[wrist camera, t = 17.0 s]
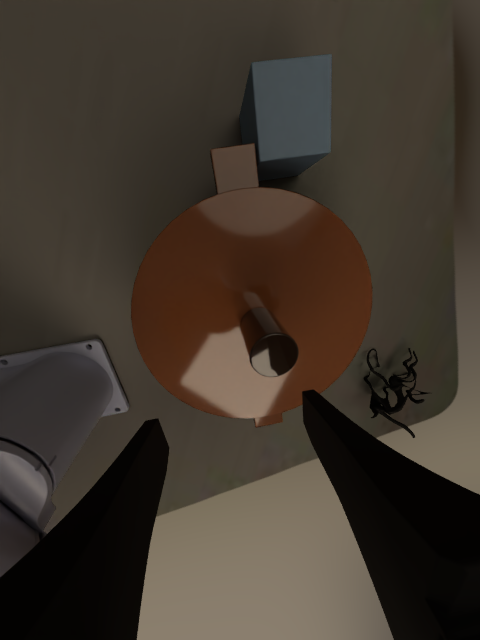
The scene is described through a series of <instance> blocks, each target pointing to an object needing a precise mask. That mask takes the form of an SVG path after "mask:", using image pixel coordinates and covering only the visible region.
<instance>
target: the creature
mask: <svg viewBox="0 0 480 640" xmlns="http://www.w3.org/2000/svg"><path fill="white" fill-rule="evenodd" d="M371 350H375V349H371ZM371 350H370V351H369V352H368V355H367V364H368V366H369V368H370V370H371V371H372V372H373V373H374V374H375V375H377V376H379V377H380V378H381V379H383V381H384V382H385V384H386V385H387V387H385V388H383V391H384V392H385V393H386V398H384V399H383V398H381V397H379V396H378V395H377V393H376V392H374V390H373V388H372V385H371V383H370V382H369V381H368V380H367V378H368V377H369V375H370V372H369V375H367V376H366V377H364V380H365V382H366V383H367V384H368V385H369V386H370V388H371V390H372V391H371V392H372V396H371V401H370V409H371V410H372V412H373V413H374V416H373V417H371V418H375V417H376V416H377V415H378V414H379V413H380V414H381V415H383V416H384V417H386V418H387V419H389V420H390V421H392V422H393V423H395V424H397V425H399V426H401V427H402V428H404V429H405V430H407V431H408V432H409V433H410V434H411V435H412V436H413V438H415V435H414V434H413V432H412V431H411V430H410V429H409V428H408V427H407V426H406V425H404V424H402V423H400V422H398V421H396V420H394V419H393V418H391V417H390V416H388V415H387V414H389V415H390V414H393V413H395V412H399V411H400V410H402V408H403V406H404V404H405V402H406V400H407V397H409V398H410V400H411V401H413V402H414V403H416V404H419V403H422V402H423V401H424V399H421V400H415V399H414V398H413V397H412V395H420V394H428V393H425V392H420V391H418V392H420V394H411V392H412V391H413V389H414V388H415V385H416V376H417V374H416V372H415V370H414V369H413V368H412V367H414V366H415V365H416V363H417V362H418V360H417V357H416V354H415V352H414V351H413V354H414V356H415V358H416V361H415V362H414V363H412V364H411V365H410V366H409V367H408V365H407V363H408V362H409V361H411V359H412V355H411V351H410V348H409V352H410V355H411V357H410V358H409V359H407V360H405V361H404V362H403V365H404V366H405V367H406V369H407V371H408V372H407V373H405V374H402V375H406V374H408V375H407V377H405V378H401V377H397V376H401V375H394V374H393V375H394V376H391V377H390V378H389V384H390V385H389V384H388V382H387V380H386V379H385V378H384V377H383V376H382V375H381V374H379V373H377V372H376V371H374V369H373V368H372V366H371V364H370V362H369V353H370V352H371ZM375 351H376V350H375ZM376 359H377V363H378V358H377V351H376ZM377 367H380V365H379V363H378V366H377ZM375 368H376V367H375ZM411 371H412V372H411ZM411 373H412V374H413V376H414V379H413V380H412V381H414V380H415V383H414V387H412V388H411V389H410V390H406V392H407V395H406V396H405V397H404V396H403V393H402V387H403V386H405V385H403V384H402V382H412V381H405V380H402V379H406V378H408V377H410V375H411ZM405 387H407V386H405ZM386 388H390V389H391V390H393V391H394V392H395V394H396V395H397V402H398V403H397V404H396V405H395V407H392V408H391V406H390V404H389V400H388V392H387V391H386ZM408 388H409V387H408ZM416 391H417V390H416ZM380 404H381V405H383V406H381V405H380ZM385 412H386V413H387V414H386V413H385Z"/></svg>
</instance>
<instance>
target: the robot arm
mask: <svg viewBox="0 0 480 640" xmlns="http://www.w3.org/2000/svg"><path fill="white" fill-rule="evenodd" d="M88 344H90V345H91V346H92V347H89V346H88ZM5 360H6V361H7V362H6V361H5ZM302 403H303V422H304V425H305V428H306V430H307V433H308V436H309V438H310V441H311V443H312V445H313V447H314V449H315V451H316V453H317V455H318V457H319V459H320V461H321V463H322V465H323V467H324V469H325V471H326V473H327V475H328V477H329V479H330V481H331V483H332V485H333V487H334V489H335V491H336V493H337V495H338V497H339V500H340V502H341V504H342V506H343V509H344V511H345V514H346V516H347V519H348V521H349V523H350V526H351V528H352V531H353V533H354V536H355V538H356V541H357V543H358V545H359V548H360V551H361V553H362V556H363V558H364V561H365V563H366V566H367V569H368V571H369V574H370V577H371V579H372V582H373V584H374V587H375V590H376V592H377V595H378V598H379V600H380V603H381V606H382V608H383V611H384V614H385V616H386V619H387V622H388V624H389V627H390V630H391V633H392V635H393V638H394V640H480V495H479V494H477V493H474V492H472V491H470V490H468V489H466V488H464V487H462V486H460V485H458V484H456V483H453V482H451V481H450V480H448V479H445V478H444V477H442V476H440V475H438V474H436V473H434V472H432V471H430V470H428V469H426V468H425V467H423V466H421V465H419V464H417V463H416V462H414V461H412V460H410V459H408V458H406V457H405V456H403V455H402V454H400V453H398V452H397V451H395V450H393V449H392V448H390V447H389V446H387V445H385V444H384V443H382V442H381V441H379V440H378V439H376V438H375V437H373V436H372V435H370V434H369V433H368V432H366V431H365V430H364V429H362V428H361V427H359V426H358V425H357V424H355V423H354V422H353V421H351V420H350V419H349V418H348V417H346V416H345V415H344V414H343V413H341V412H340V411H339V410H338V409H336V408H335V407H334V406H333V405H332V404H331V403H329V402H328V401H327V400H326V399H325V398H324V397H322V396H321V395H320V394H319V393H318V392H317V391H315V390H314V389H312V390H307V391H302ZM118 408H120V409H118ZM128 409H129V404H128V401H127V399H126V397H125V394H124V392H123V389H122V387H121V385H120V382H119V380H118V378H117V375H116V373H115V371H114V368H113V366H112V364H111V361H110V359H109V357H108V354H107V352H106V350H105V347H104V345H103V343H102V341H101V340H99V339H92V340H86V341H80V342H75V343H69V344H64V345H58V346H53V347H47V348H42V349H36V350H30V351H25V352H19V353H14V354H8V355H3V356H0V640H137V631H138V623H139V616H140V607H141V601H142V593H143V586H144V579H145V572H146V565H147V559H148V553H149V547H150V541H151V536H152V531H153V527H154V522H155V518H156V514H157V510H158V506H159V502H160V497H161V493H162V489H163V485H164V480H165V476H166V471H167V464H168V455H169V446H168V443H167V441H166V438H165V435H164V433H163V430H162V427H161V425H160V422H159V419H153V420H147V421H145V422H144V424H143V425H142V426H141V427H140V429H139V430H138V431H137V433H136V434H135V435H134V437H133V438H132V439H131V440H130V442H129V443H128V444H127V446H126V447H125V448H124V450H123V451H122V452H121V453H120V455H119V456H118V457H117V458H116V460H115V461H114V462H113V463H112V465H111V466H110V467H109V468H108V469H107V471H106V472H105V473H104V474H103V475H102V477H101V478H100V479H99V480H98V481H97V482H96V484H95V485H94V486H93V487H92V488H91V489H90V491H89V492H88V493H87V494H86V495H85V496H84V497H83V498H82V499H81V500H80V502H79V503H78V504H77V505H76V506H75V507H74V508H73V509H72V510H71V511H70V512H69V513H68V514H67V515H66V516H65V517H64V518H63V519H62V520H61V521H60V522H59V523H58V524H57V525H56V526H55V527H54V528H53V529H52V530H51V531H50V532H49V533H48V534H46V533H45V532H44V531H43V530H44V528H45V527H46V525H47V523H48V521H49V520H50V518H51V516H52V514H53V513H54V511H55V509H56V507H55V506H54V505H53V503H52V501H51V496H52V495H53V493H54V491H55V490H56V488H57V486H58V485H59V483H60V482H61V480H62V478H63V477H64V475H65V474H66V472H67V470H68V469H69V467H70V466H71V464H72V462H73V461H74V459H75V457H76V456H77V454H78V453H79V451H80V449H81V448H82V446H83V445H84V443H85V441H86V440H87V438H88V436H89V435H90V433H91V432H92V430H93V428H94V427H95V425H96V424H97V422H98V420H99V419H100V417H103V416H108V415H113V414H118V413H123V412H127V411H128Z"/></svg>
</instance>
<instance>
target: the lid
mask: <svg viewBox="0 0 480 640" xmlns="http://www.w3.org/2000/svg"><path fill="white" fill-rule="evenodd" d="M371 308H372V283H371V275H370V271H369V267H368V264H367V260H366V258H365V255H364V253H363V251H362V248H361V246H360V244H359V243H358V241H357V239H356V238H355V236H354V235H353V233H352V232H351V231H350V229H349V228H348V227H347V226H346V225H345V224H344V222H343V221H342V220H341V219H340V218H339V217H337V216H336V215H335V214H334V213H333V212H332V211H330V210H329V209H328V208H326V207H325V206H323V205H321V204H320V203H318V202H317V201H315V200H313V199H311V198H308V197H306V196H304V195H301V194H299V193H296V192H292V191H288V190H283V189H279V188H268V187H251V188H240V189H235V190H231V191H226V192H222V193H219V194H217V195H214V196H212V197H209V198H207V199H204V200H202V201H200V202H199V203H197V204H195V205H193V206H192V207H190V208H188V209H186V210H185V211H184V212H183V213H181V214H180V215H179V216H178V217H176V218H175V219H174V220H173V221H171V222H170V223H169V224H168V226H167V227H166V228H165V229H164V230H163V231H162V232H161V233H160V234H159V235H158V236H157V238H156V239H155V241H154V242H153V244H152V245H151V246H150V248H149V249H148V251H147V253H146V255H145V257H144V259H143V261H142V263H141V265H140V267H139V270H138V273H137V276H136V280H135V283H134V288H133V294H132V300H131V318H132V326H133V333H134V336H135V340H136V343H137V347H138V349H139V351H140V354H141V356H142V358H143V360H144V362H145V364H146V365H147V367H148V369H149V370H150V372H151V373H152V374H153V376H154V377H155V378H156V379H157V380H158V382H159V383H160V384H161V385H162V386H163V387H164V388H165V389H166V390H168V391H169V392H170V393H171V394H172V395H174V396H175V397H177V398H178V399H179V400H181V401H182V402H184V403H186V404H188V405H190V406H192V407H193V408H196V409H198V410H201V411H203V412H206V413H210V414H213V415H217V416H222V417H229V418H243V419H245V418H259V417H266V416H271V415H275V414H279V413H283V412H285V411H288V410H291V409H294V408H296V407H298V406H300V405H302V404H303V403H302V391H307V390H312V389H314V390H315V391H317V392H318V393H319V394H320V393H322V392H323V391H324V390H325V389H327V388H328V387H329V386H330V385H331V384H332V383H333V382H335V381H336V380H337V379H338V378H339V377H340V375H341V374H342V373H343V372H344V371H345V370H346V368H347V367H348V366H349V364H350V363H351V361H352V360H353V358H354V357H355V355H356V353H357V352H358V350H359V348H360V346H361V344H362V341H363V339H364V337H365V334H366V331H367V328H368V324H369V320H370V315H371Z"/></svg>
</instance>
